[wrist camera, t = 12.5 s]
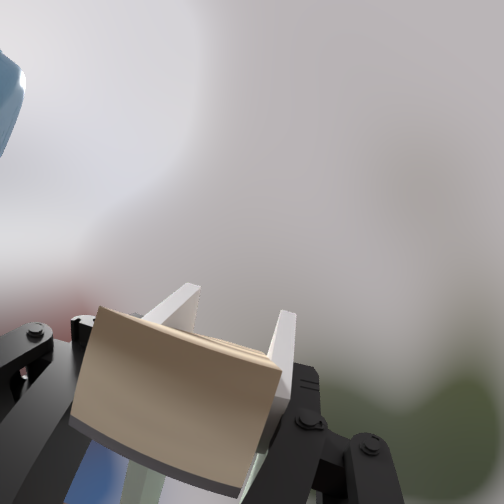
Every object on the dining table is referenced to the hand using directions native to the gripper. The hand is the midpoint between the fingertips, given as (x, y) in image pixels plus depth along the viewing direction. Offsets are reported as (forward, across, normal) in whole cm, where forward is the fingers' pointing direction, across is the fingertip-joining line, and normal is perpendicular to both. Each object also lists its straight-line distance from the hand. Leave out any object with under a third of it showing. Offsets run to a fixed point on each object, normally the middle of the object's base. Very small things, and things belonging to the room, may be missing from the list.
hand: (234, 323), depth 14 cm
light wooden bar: (+1, 0, +5) cm, 5 cm away
